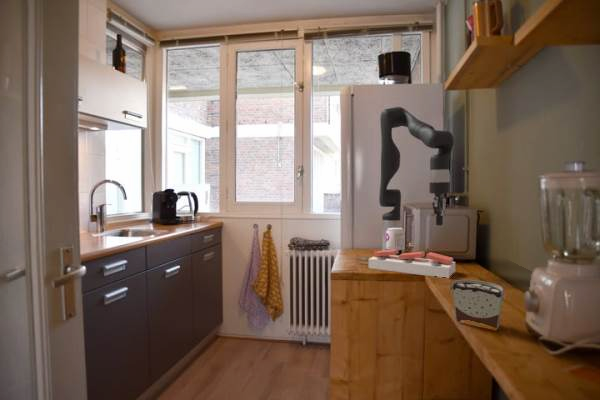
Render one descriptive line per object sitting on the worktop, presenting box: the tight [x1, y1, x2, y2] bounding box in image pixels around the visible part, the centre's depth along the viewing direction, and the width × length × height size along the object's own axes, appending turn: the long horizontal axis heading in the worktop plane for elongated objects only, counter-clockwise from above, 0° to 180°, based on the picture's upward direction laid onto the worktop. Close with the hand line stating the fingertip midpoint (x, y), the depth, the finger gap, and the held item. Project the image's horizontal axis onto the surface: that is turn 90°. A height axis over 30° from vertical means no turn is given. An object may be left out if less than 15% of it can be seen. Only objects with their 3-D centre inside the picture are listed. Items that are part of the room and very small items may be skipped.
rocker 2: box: [425, 251, 454, 265], centre depth 138 cm, size 6×9×2 cm, turn 55°
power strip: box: [356, 255, 456, 279], centre depth 145 cm, size 12×40×5 cm, turn 55°
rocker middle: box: [399, 251, 426, 259], centre depth 144 cm, size 6×9×2 cm, turn 55°
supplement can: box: [386, 227, 405, 256], centre depth 163 cm, size 8×8×15 cm
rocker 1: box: [373, 249, 399, 257], centre depth 150 cm, size 6×9×2 cm, turn 55°
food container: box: [449, 279, 506, 329], centre depth 86 cm, size 12×6×10 cm, turn 48°
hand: (439, 225), depth 137 cm, fingers closed
